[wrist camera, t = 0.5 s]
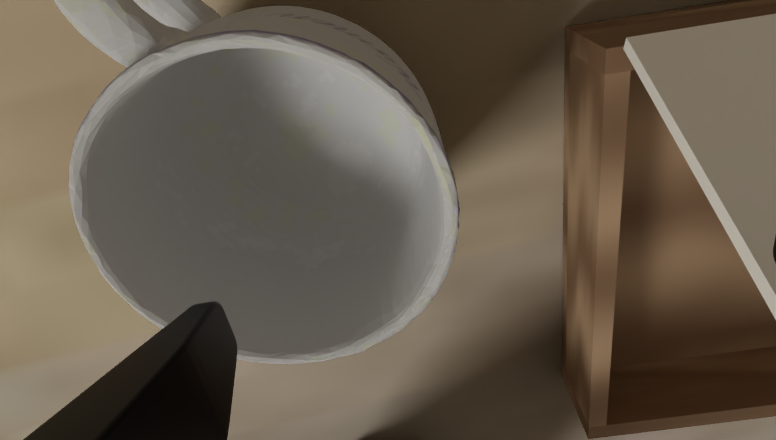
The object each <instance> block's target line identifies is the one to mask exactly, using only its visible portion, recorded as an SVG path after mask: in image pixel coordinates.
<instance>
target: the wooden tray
mask: <svg viewBox="0 0 776 440" xmlns="http://www.w3.org/2000/svg"><path fill="white" fill-rule="evenodd" d="M770 14H776V0H728V1H722V2H716V3H709V4H703V5H697V6H691V7H685V8H679V9H672V10H666V11H660V12H654V13H648V14H642V15H635V16H629V17H623V18H617V19H611V20H604V21H598V22H592V23H586V24H580V25H574V26H567V27H565V87H564V202H563V317H562V377H563V379H564V382H565V384H566V387H567V389H568V391H569V394H570V396H571V399H572V401H573V403H574V406H575V408H576V411H577V413H578V415H579V418H580V420H581V422H582V425H583V427H584V430H585V432H586V434H587V437H588V439H592V438H600V437H608V436H616V435H625V434H633V433H641V432H649V431H657V430H666V429H674V428H682V427H690V426H698V425H707V424H715V423H723V422H731V421H739V420H748V419H756V418H764V417H772V416H776V320H775V318H774V316H773V314H772V312H771V311H770V309H769V307H768V305H767V304H766V302H765V300H764V298H763V296H762V295H761V293H760V291H759V289H758V288H757V286H756V284H755V282H754V280H753V279H752V277H751V275H750V273H749V272H748V270H747V268H746V266H745V264H744V263H743V261H742V259H741V257H740V256H739V254H738V252H737V250H736V248H735V247H734V245H733V243H732V241H731V239H730V238H729V236H728V234H727V232H726V231H725V229H724V227H723V225H722V223H721V222H720V220H719V218H718V216H717V215H716V213H715V211H714V209H713V207H712V206H711V204H710V202H709V200H708V199H707V197H706V195H705V193H704V191H703V190H702V188H701V186H700V184H699V183H698V181H697V179H696V177H695V175H694V174H693V172H692V170H691V168H690V167H689V165H688V163H687V161H686V159H685V158H684V156H683V154H682V152H681V151H680V149H679V147H678V145H677V143H676V142H675V140H674V138H673V136H672V135H671V133H670V131H669V129H668V127H667V126H666V124H665V122H664V120H663V119H662V117H661V115H660V113H659V111H658V110H657V108H656V106H655V104H654V103H653V101H652V99H651V97H650V95H649V94H648V92H647V90H646V88H645V86H644V85H643V83H642V81H641V79H640V78H639V76H638V74H637V72H636V70H635V69H634V67H633V65H632V63H631V62H630V60H629V58H628V56H627V54H626V53H625V51H624V49H623V48H624V44H625V41H626V37H632V36H639V35H645V34H651V33H657V32H664V31H670V30H676V29H682V28H689V27H695V26H701V25H707V24H714V23H720V22H726V21H732V20H739V19H745V18H751V17H757V16H764V15H770Z"/></svg>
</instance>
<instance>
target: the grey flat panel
mask: <svg viewBox="0 0 776 440" xmlns="http://www.w3.org/2000/svg"><path fill="white" fill-rule="evenodd" d="M623 49H624V51H625V53H626V54H627V56H628V58H629V60H630V62H631V63H632V65H633V67H634V69H635V70H636V72H637V74H638V76H639V78H640V79H641V81H642V83H643V85H644V86H645V88H646V90H647V92H648V94H649V95H650V97H651V99H652V101H653V103H654V104H655V106H656V108H657V110H658V111H659V113H660V115H661V117H662V119H663V120H664V122H665V124H666V126H667V127H668V129H669V131H670V133H671V135H672V136H673V138H674V140H675V142H676V143H677V145H678V147H679V149H680V151H681V152H682V154H683V156H684V158H685V159H686V161H687V163H688V165H689V167H690V168H691V170H692V172H693V174H694V175H695V177H696V179H697V181H698V183H699V184H700V186H701V188H702V190H703V191H704V193H705V195H706V197H707V199H708V200H709V202H710V204H711V206H712V207H713V209H714V211H715V213H716V215H717V216H718V218H719V220H720V222H721V223H722V225H723V227H724V229H725V231H726V232H727V234H728V236H729V238H730V239H731V241H732V243H733V245H734V247H735V248H736V250H737V252H738V254H739V256H740V257H741V259H742V261H743V263H744V264H745V266H746V268H747V270H748V272H749V273H750V275H751V277H752V279H753V280H754V282H755V284H756V286H757V288H758V289H759V291H760V293H761V295H762V296H763V298H764V300H765V302H766V304H767V305H768V307H769V309H770V311H771V312H772V314H773V316H774V318H775V320H776V263H775V261H774V257H773V246H774V241H775V235H776V14H770V15H764V16H757V17H751V18H745V19H739V20H732V21H726V22H720V23H714V24H707V25H701V26H695V27H689V28H682V29H676V30H670V31H664V32H657V33H651V34H645V35H639V36H632V37H626V41H625V44H624V48H623Z"/></svg>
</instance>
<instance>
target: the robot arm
mask: <svg viewBox="0 0 776 440" xmlns="http://www.w3.org/2000/svg"><path fill="white" fill-rule="evenodd" d="M773 257H774V261H775V263H776V235H775V241H774V246H773ZM236 361H237V342H236V338H235V336H234V333H233V331H232V328H231V326H230V323H229V321H228V319H227V316H226V314H225V311H224V309H223V307H222V305H221V304H220V303H219V302H217V301H211V302H205V303H199V304H194V305H192V306H191V307H189V308H188V309H187V310H186V311H184V312H183V313H182V314H181V315H179V316H178V317H177V318H176V319H174V320H173V321H172V322H171V323H169V324H168V325H167V326H166V327H164V328H163V329H162V330H160V331H159V332H158V333H157V334H155V335H154V336H153V337H152V338H150V339H149V340H148V341H147V342H145V343H144V344H143V345H142V346H140V347H139V348H138V349H137V350H135V351H134V352H133V353H132V354H130V355H129V356H128V357H127V358H125V359H124V360H123V361H122V362H120V363H119V364H118V365H116V366H115V367H114V368H113V369H111V370H110V371H109V372H108V373H106V374H105V375H104V376H103V377H101V378H100V379H99V380H98V381H96V382H95V383H94V384H93V385H91V386H90V387H89V388H88V389H86V390H85V391H84V392H83V393H81V394H80V395H79V396H78V397H76V398H75V399H74V400H72V401H71V402H70V403H69V404H67V405H66V406H65V407H64V408H62V409H61V410H60V411H59V412H57V413H56V414H55V415H54V416H52V417H51V418H50V419H49V420H47V421H46V422H45V423H44V424H42V425H41V426H40V427H39V428H37V429H36V430H35V431H34V432H32V433H31V434H30V435H28V436H27V437H26V438H25V439H23V440H227V436H228V429H229V422H230V414H231V405H232V396H233V387H234V378H235V370H236Z"/></svg>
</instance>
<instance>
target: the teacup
mask: <svg viewBox="0 0 776 440" xmlns="http://www.w3.org/2000/svg"><path fill="white" fill-rule="evenodd" d="M54 1H55V3H56V5H57V6H58V8H59V9H60V10H61V12H62V13H63V14H64V15H65V17H66V18H67V19H68V20H69V21H70V22H71V23H72V25H73V26H74V27H75V28H76V29H77V30H78V32H80V33H81V34H82V35H83V36H84V37H85V38H87V39H88V40H89V41H90V42H91V43H92V44H94V45H95V46H96V47H98V48H99V49H100V50H102V51H103V52H104V53H106V54H107V55H109V56H110V57H111V58H113V59H114V60H116V61H117V62H119V63H121V64H122V65H124V66H126V68H127V69H125V70H124V71H123V72H122V73H120V74H119V75H118V76H117V77H116V78H115V79H114V80H113V81H112V82H111V83H110V84H109V85H108V86H107V87H106V88H105V89H104V90H103V92H102V93H101V94H100V96H99V97H98V98H97V100H96V101H95V103H94V104H93V106H92V107H91V109H90V110H89V112H88V113H87V115H86V117H85V119H84V120H83V122H82V124H81V126H80V128H79V131H78V133H77V135H76V138H75V142H74V147H73V151H72V156H71V160H70V169H69V193H70V201H71V206H72V211H73V215H74V218H75V222H76V225H77V228H78V230H79V233H80V235H81V238H82V240H83V243H84V245H85V246H86V248H87V250H88V252H89V254H90V256H91V257H92V259H93V260H94V262H95V263H96V265H97V267H98V269H99V271H100V272H101V274H102V276H103V277H104V278H105V279H106V280H107V282H108V283H109V284H110V285H111V286H112V288H113V289H114V290H115V291H116V292H117V293H118V294H119V295H120V296H121V297H122V298H123V299H124V300H125V301H126V302H127V303H128V304H129V305H131V306H132V307H133V308H134V309H135V310H136V311H137V312H138V313H140V314H141V315H142V316H143V317H145V318H146V319H148V320H149V321H151V322H152V323H154V324H155V325H157V326H159V327H160V328H162V329H163V328H164V327H166V326H167V325H168V324H169V323H171V322H172V321H173V320H174V319H176V318H177V317H178V316H179V315H181V314H182V313H183V312H184V311H186V310H187V309H188V308H189V307H191V306H192V305H194V304H199V303H205V302H211V301H217V302H219V303H220V304H221V305H222V307H223V309H224V311H225V314H226V316H227V319H228V321H229V323H230V326H231V328H232V331H233V333H234V336H235V338H236V342H237V359H239V360H245V361H250V362H256V363H267V364H299V363H309V362H318V361H327V360H331V359H334V358H338V357H343V356H347V355H352V354H355V353H359V352H363V351H366V350H367V348H368V347H370V346H373V345H375V344H377V343H379V342H382V341H384V340H385V339H387V338H389V337H390V336H392V335H394V334H395V333H397V332H399V331H400V330H402V329H403V328H404V327H405V326H406V325H407V324H409V323H410V322H411V321H412V320H413V319H414V318H415V317H417V316H418V315H419V314H420V313H421V312H422V311H423V310H424V309H425V308H426V307H427V305H428V304H429V303H430V301H431V300H432V299H433V297H434V296H435V294H436V293H437V291H438V290H439V288H440V287H441V285H442V282H443V280H444V278H445V277H446V276H447V272H448V268H449V266H450V264H451V262H452V260H453V256H454V253H455V249H456V244H457V236H458V228H459V212H460V208H459V201H458V194H457V188H456V183H455V178H454V174H453V171H452V168H451V166H450V163H449V160H448V157H447V155H446V152H445V150H444V147H443V143H442V139H441V136H440V132H439V129H438V125H437V122H436V119H435V117H434V114H433V111H432V108H431V106H430V104H429V101H428V99H427V97H426V95H425V93H424V91H423V89H422V88H421V86H420V84H419V82H418V81H417V79H416V78H415V76H414V75H413V73H412V72H411V70H410V69H409V68H408V67H407V65H406V64H405V63H404V62H403V61H402V59H401V58H400V57H399V56H398V55H397V54H396V53H395V52H394V51H393V50H392V49H391V48H390V47H388V46H387V45H386V44H385V43H384V42H383V41H381V40H380V39H379V38H378V37H376V36H375V35H373V34H372V33H370V32H368V31H367V30H365V29H364V28H362V27H361V26H359V25H357V24H355V23H353V22H350V21H348V20H346V19H343V18H341V17H339V16H337V15H334V14H331V13H327V12H324V11H321V10H316V9H310V8H305V7H299V6H267V7H258V8H252V9H247V10H243V11H240V12H236V13H233V14H230V15H227V16H224V17H221V16H220V15H219V14H218V13H217V12H216V11H215V10H213V9H212V8H211V7H209V6H208V5H206V4H205V3H204V2H202V1H201V0H54ZM135 2H136V3H137V4H138V5H139V6H140V7H141V8H142V9H143V10H142V9H141V8H140V7H139V6H138V5H137V4H136V3H135ZM144 10H145V11H146V12H147V13H146V12H145V11H144Z"/></svg>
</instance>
